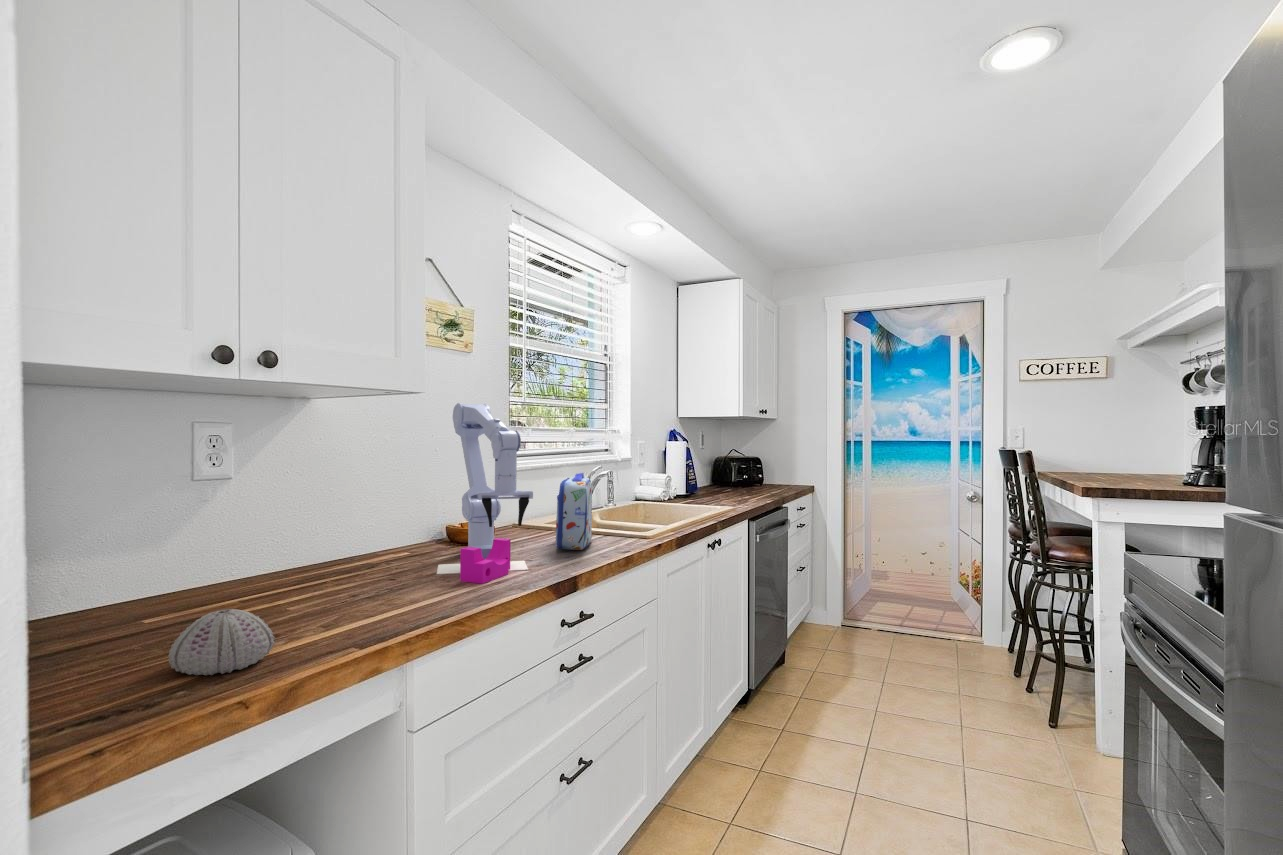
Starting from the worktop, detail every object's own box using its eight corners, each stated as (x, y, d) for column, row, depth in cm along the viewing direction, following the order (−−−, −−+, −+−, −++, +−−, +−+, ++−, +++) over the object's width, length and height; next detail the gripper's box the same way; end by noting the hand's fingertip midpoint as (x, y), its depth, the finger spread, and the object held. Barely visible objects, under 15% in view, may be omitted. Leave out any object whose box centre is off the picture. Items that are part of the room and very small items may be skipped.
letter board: (438, 565, 166) (438, 564, 166) (524, 561, 171) (524, 560, 171) (436, 574, 155) (436, 573, 155) (528, 570, 161) (528, 569, 161)
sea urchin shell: (211, 687, 87) (212, 628, 87) (144, 674, 92) (144, 618, 92) (294, 655, 99) (294, 604, 100) (231, 645, 104) (232, 595, 104)
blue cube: (472, 565, 165) (472, 545, 165) (492, 564, 166) (492, 545, 166) (472, 569, 160) (472, 549, 160) (493, 568, 161) (493, 548, 161)
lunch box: (561, 538, 209) (561, 471, 209) (592, 538, 209) (593, 471, 209) (553, 554, 181) (553, 477, 181) (589, 554, 182) (590, 477, 182)
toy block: (482, 583, 146) (482, 551, 146) (460, 580, 148) (460, 548, 148) (518, 569, 160) (519, 540, 160) (497, 567, 162) (498, 538, 162)
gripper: (478, 476, 166) (477, 528, 166) (534, 476, 170) (533, 527, 170) (477, 474, 173) (477, 525, 173) (531, 474, 177) (531, 523, 177)
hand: (505, 525), depth 172 cm, fingers open, 7 cm apart
